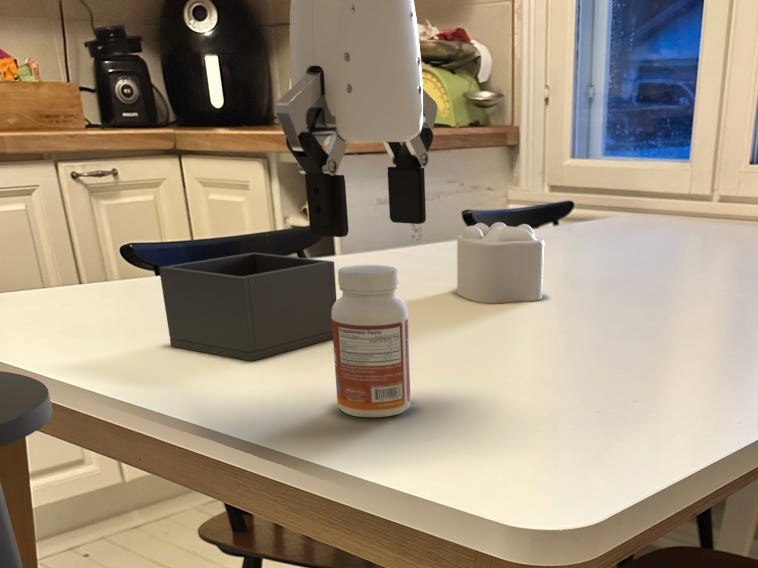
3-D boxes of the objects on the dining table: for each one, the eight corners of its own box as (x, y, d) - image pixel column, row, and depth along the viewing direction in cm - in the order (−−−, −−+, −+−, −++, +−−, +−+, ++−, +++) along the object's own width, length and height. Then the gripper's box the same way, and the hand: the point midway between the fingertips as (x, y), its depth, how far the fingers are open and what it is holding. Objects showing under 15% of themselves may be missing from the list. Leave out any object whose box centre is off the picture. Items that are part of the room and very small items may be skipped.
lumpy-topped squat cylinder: (479, 304, 119) (480, 231, 114) (443, 288, 129) (443, 220, 125) (551, 299, 122) (554, 228, 118) (510, 284, 133) (512, 218, 128)
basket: (251, 361, 91) (242, 278, 87) (170, 346, 97) (158, 267, 93) (339, 336, 101) (334, 261, 97) (261, 324, 107) (254, 252, 103)
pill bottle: (359, 395, 81) (352, 261, 75) (422, 403, 79) (420, 266, 73) (323, 413, 76) (313, 271, 71) (389, 423, 74) (384, 277, 69)
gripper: (387, -30, 70) (398, 216, 79) (220, -59, 57) (255, 238, 66) (469, -37, 67) (472, 221, 75) (311, -70, 54) (336, 245, 62)
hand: (370, 228), depth 71 cm, fingers open, 9 cm apart
